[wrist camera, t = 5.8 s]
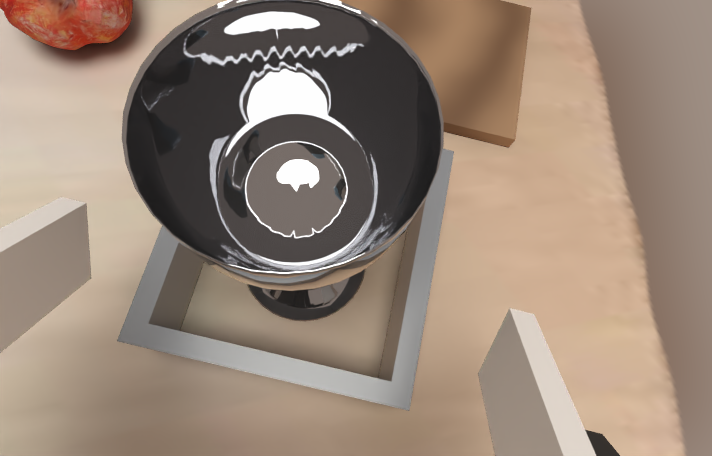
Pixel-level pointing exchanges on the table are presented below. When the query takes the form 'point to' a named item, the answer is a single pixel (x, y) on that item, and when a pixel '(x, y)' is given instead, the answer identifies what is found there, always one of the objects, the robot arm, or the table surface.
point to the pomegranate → (69, 20)
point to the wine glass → (284, 145)
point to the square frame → (392, 387)
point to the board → (465, 58)
